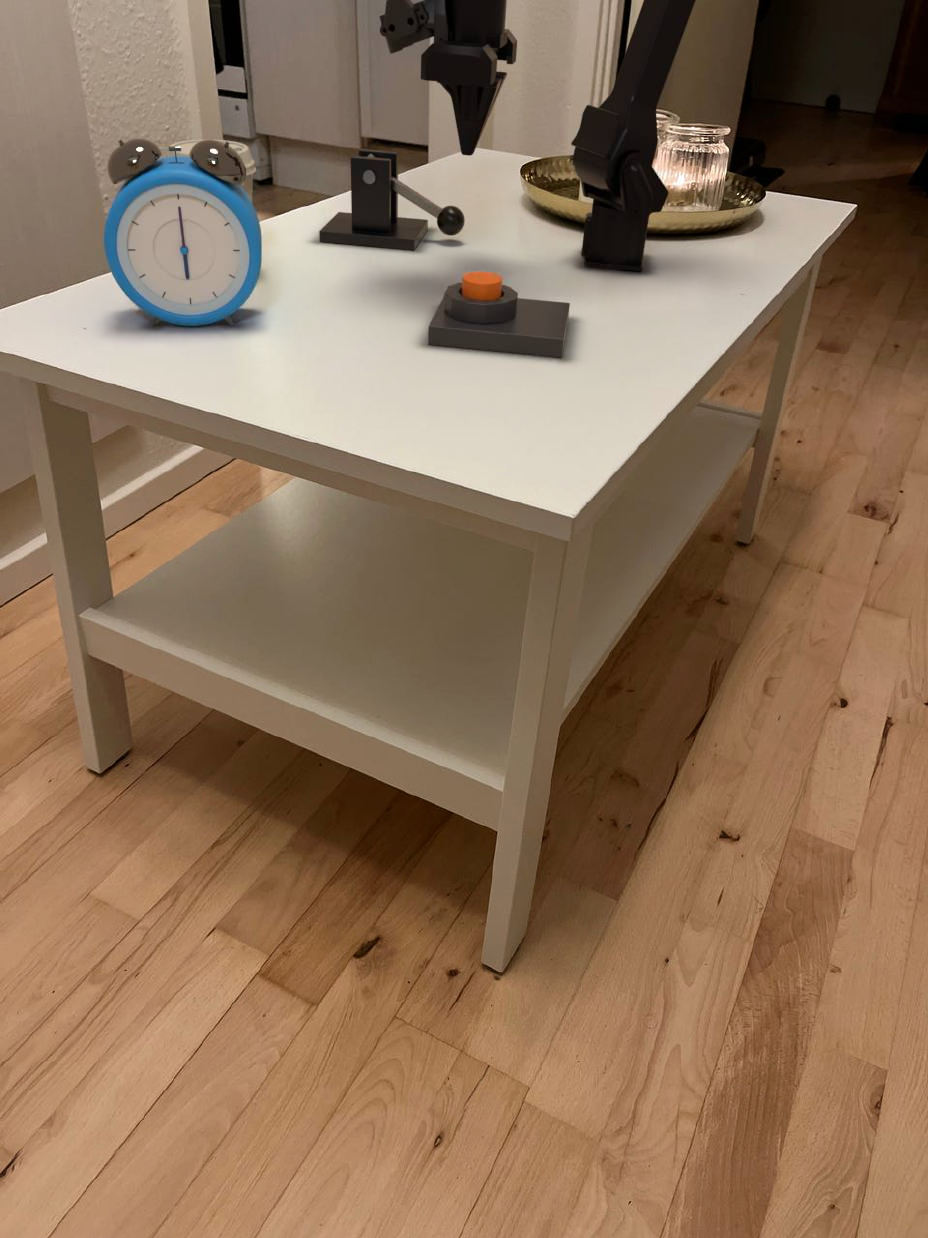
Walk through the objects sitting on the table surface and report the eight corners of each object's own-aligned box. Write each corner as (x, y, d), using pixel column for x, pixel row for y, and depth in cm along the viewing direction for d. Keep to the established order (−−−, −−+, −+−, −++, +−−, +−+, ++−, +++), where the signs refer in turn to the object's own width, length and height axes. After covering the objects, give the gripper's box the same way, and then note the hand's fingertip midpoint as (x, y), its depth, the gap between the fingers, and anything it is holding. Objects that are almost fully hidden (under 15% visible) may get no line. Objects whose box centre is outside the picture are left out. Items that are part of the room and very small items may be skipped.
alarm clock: (116, 330, 87) (86, 145, 78) (124, 306, 92) (96, 130, 83) (266, 328, 89) (254, 148, 81) (266, 305, 94) (254, 133, 85)
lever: (457, 236, 116) (471, 212, 114) (453, 244, 113) (467, 219, 112) (360, 174, 113) (373, 148, 112) (354, 180, 111) (367, 154, 109)
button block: (568, 320, 95) (572, 283, 93) (561, 357, 87) (566, 318, 85) (445, 308, 96) (446, 272, 94) (427, 344, 88) (428, 305, 86)
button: (502, 292, 91) (504, 273, 90) (498, 304, 88) (499, 285, 87) (464, 288, 92) (465, 269, 90) (458, 301, 89) (459, 281, 88)
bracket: (427, 229, 119) (429, 150, 114) (414, 250, 112) (415, 166, 106) (338, 221, 120) (336, 142, 115) (319, 241, 112) (316, 158, 107)
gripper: (410, -46, 96) (407, 130, 105) (362, -39, 81) (363, 166, 90) (523, -38, 95) (510, 140, 104) (496, -30, 80) (484, 177, 89)
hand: (467, 154), depth 97 cm, fingers closed
